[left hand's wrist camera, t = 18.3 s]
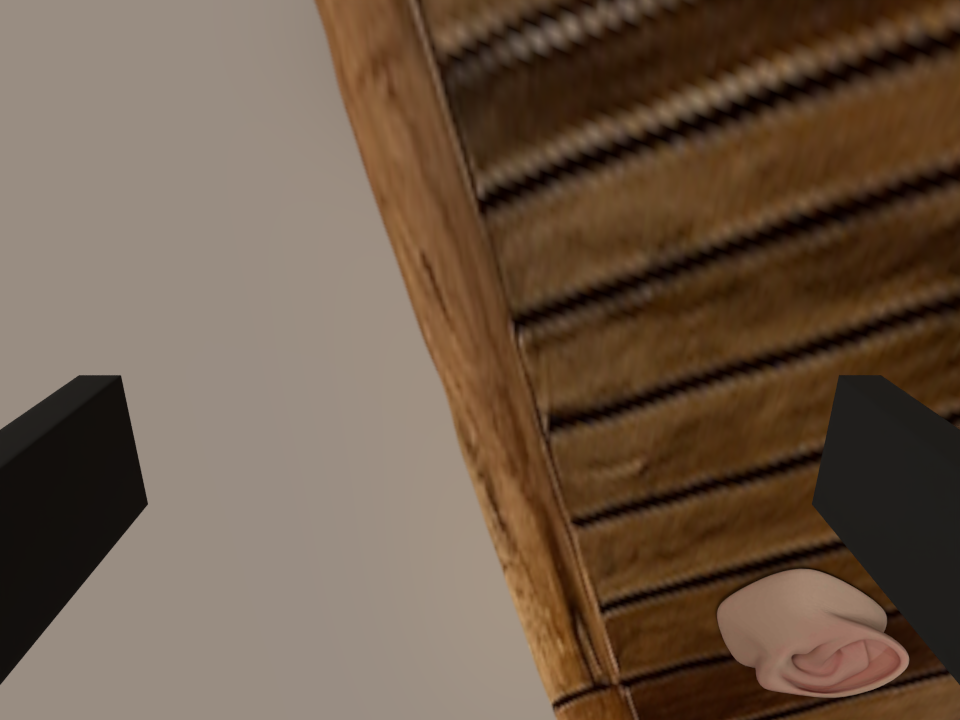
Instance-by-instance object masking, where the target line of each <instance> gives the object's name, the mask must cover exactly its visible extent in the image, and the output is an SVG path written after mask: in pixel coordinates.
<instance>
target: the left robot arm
mask: <svg viewBox="0 0 960 720" xmlns="http://www.w3.org/2000/svg"><path fill="white" fill-rule="evenodd" d="M147 505H148V502H147V497H146V492H145V488H144V483H143V478H142V474H141V469H140V464H139V459H138V454H137V450H136V445H135V440H134V435H133V431H132V426H131V421H130V416H129V412H128V407H127V402H126V397H125V393H124V388H123V383H122V378H121V376H120V375H79V376H77V377H76V378H75V379H73V380H72V381H70V382H69V383H67V384H66V385H64V386H63V387H61V388H60V389H59V390H57V391H56V392H54V393H53V394H51V395H50V396H49V397H47V398H46V399H44V400H43V401H41V402H40V403H38V404H37V405H35V406H34V407H33V408H31V409H30V410H28V411H27V412H25V413H24V414H23V415H21V416H20V417H18V418H17V419H15V420H14V421H12V422H11V423H9V424H8V425H6V426H5V427H4V428H2V429H1V430H0V684H1V683H2V682H3V681H4V680H5V678H6V677H7V676H8V675H9V673H10V672H11V671H12V670H13V669H14V667H15V666H16V665H17V664H18V662H19V661H20V660H21V659H22V658H23V656H24V655H25V654H26V653H27V651H28V650H29V649H30V648H31V647H32V645H33V644H34V643H35V642H36V640H37V639H38V638H39V637H40V636H41V634H42V633H43V632H44V631H45V629H46V628H47V627H48V626H49V625H50V623H51V622H52V621H53V620H54V618H55V617H56V616H57V615H58V614H59V612H60V611H61V610H62V609H63V607H64V606H65V605H66V604H67V603H68V601H69V600H70V599H71V598H72V596H73V595H74V594H75V593H76V592H77V590H78V589H79V588H80V587H81V585H82V584H83V583H84V582H85V581H86V579H87V578H88V577H89V576H90V574H91V573H92V572H93V571H94V570H95V568H96V567H97V566H98V565H99V563H100V562H101V561H102V560H103V559H104V557H105V556H106V555H107V554H108V552H109V551H110V550H111V549H112V548H113V546H114V545H115V544H116V543H117V541H118V540H119V539H120V538H121V537H122V535H123V534H124V533H125V532H126V530H127V529H128V528H129V527H130V526H131V524H132V523H133V522H134V521H135V519H136V518H137V517H138V516H139V515H140V513H141V512H142V511H143V510H144V508H145V507H146V506H147ZM812 505H813V506H814V507H815V508H816V510H817V511H818V512H819V513H820V515H821V516H822V517H823V518H824V519H825V521H826V522H827V523H828V524H829V526H830V527H831V528H832V529H833V530H834V532H835V533H836V534H837V535H838V537H839V538H840V539H841V540H842V541H843V543H844V544H845V545H846V546H847V548H848V549H849V550H850V551H851V552H852V554H853V555H854V556H855V557H856V559H857V560H858V561H859V562H860V563H861V565H862V566H863V567H864V568H865V570H866V571H867V572H868V573H869V574H870V576H871V577H872V578H873V579H874V581H875V582H876V583H877V584H878V585H879V587H880V588H881V589H882V590H883V592H884V593H885V594H886V595H887V596H888V598H889V599H890V600H891V601H892V603H893V604H894V605H895V606H896V607H897V609H898V610H899V611H900V612H901V614H902V615H903V616H904V617H905V618H906V620H907V621H908V622H909V623H910V625H911V626H912V627H913V628H914V629H915V631H916V632H917V633H918V634H919V636H920V637H921V638H922V639H923V640H924V642H925V643H926V644H927V645H928V647H929V648H930V649H931V650H932V651H933V653H934V654H935V655H936V656H937V658H938V659H939V660H940V661H941V662H942V664H943V665H944V666H945V667H946V669H947V670H948V671H949V672H950V673H951V675H952V676H953V677H954V678H955V680H956V681H957V682H958V683H959V684H960V430H959V429H958V428H956V427H955V426H954V425H952V424H951V423H949V422H948V421H946V420H945V419H943V418H942V417H940V416H939V415H938V414H936V413H935V412H933V411H932V410H930V409H929V408H927V407H926V406H925V405H923V404H922V403H920V402H919V401H917V400H916V399H914V398H913V397H912V396H910V395H909V394H907V393H906V392H904V391H903V390H901V389H900V388H899V387H897V386H896V385H894V384H893V383H891V382H890V381H888V380H887V379H885V378H884V377H883V376H881V375H839V378H838V383H837V388H836V393H835V397H834V402H833V407H832V412H831V416H830V421H829V426H828V431H827V435H826V440H825V445H824V450H823V454H822V459H821V464H820V469H819V473H818V478H817V483H816V488H815V492H814V497H813V502H812Z"/></svg>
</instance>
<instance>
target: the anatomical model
mask: <svg viewBox="0 0 960 720" xmlns="http://www.w3.org/2000/svg"><path fill="white" fill-rule="evenodd" d="M717 620H718V625H719V628H720V631H721V633H722V636H723V639H724V641H725V644H726V645H727V647H728V649H729V650H730V652H731V654H732V655H733V656H734V658H735V659H736V660H737V661H738V662H740V663H741V664H743V665H746V666H750V667H753V668H756V676H757V679H758V681H759V683H760V685H761V686H762V687H764V688H766V689H768V690H772V691H778V692H784V693H791V694H798V695H805V696H813V697H844V696H849V695H854V694H859V693H862V692H866V691H869V690H872V689H875V688H877V687H880V686H882V685H884V684H886V683H888V682H890V681H892V680H893V679H895V678H896V677H897V676H899V675H900V674H901V673H902V672H903V671H904V670H905V669H906V668H907V666H908V664H909V656H908V653H907V651H906V650H905V649H904V648H903V646H902V645H901V644H899V643H898V642H897V641H896V640H894V639H893V638H892V637H890V636H888V635H887V634H885V633H884V631H885V628H886V625H887V617H886V614H885V612H884V610H883V609H882V608H881V607H880V606H879V605H878V604H877V603H876V602H875V601H874V600H873V599H871V598H870V597H868V596H867V595H865V594H864V593H862V592H861V591H859V590H858V589H856V588H854V587H852V586H851V585H849V584H847V583H845V582H843V581H841V580H839V579H837V578H835V577H833V576H830V575H828V574H825V573H823V572H820V571H816V570H811V569H792V570H787V571H783V572H779V573H776V574H773V575H770V576H768V577H765V578H762V579H760V580H758V581H756V582H754V583H752V584H750V585H748V586H746V587H744V588H742V589H740V590H738V591H737V592H735V593H734V594H732V595H731V596H729V597H728V598H726V599H725V600H724V601H723V602H722V603H721V605H720V606H719V608H718V611H717Z"/></svg>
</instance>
